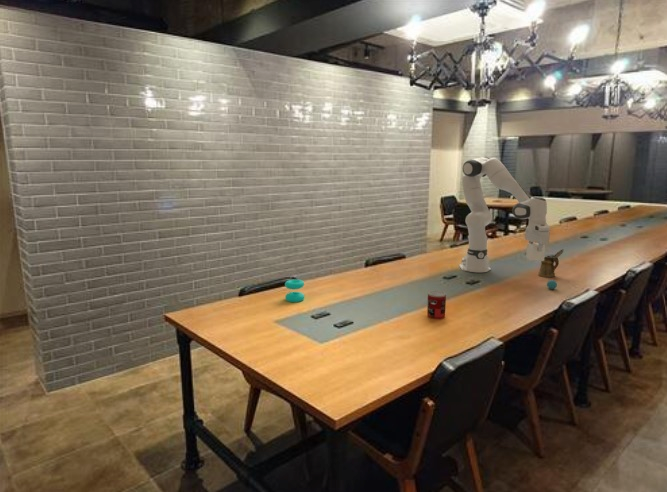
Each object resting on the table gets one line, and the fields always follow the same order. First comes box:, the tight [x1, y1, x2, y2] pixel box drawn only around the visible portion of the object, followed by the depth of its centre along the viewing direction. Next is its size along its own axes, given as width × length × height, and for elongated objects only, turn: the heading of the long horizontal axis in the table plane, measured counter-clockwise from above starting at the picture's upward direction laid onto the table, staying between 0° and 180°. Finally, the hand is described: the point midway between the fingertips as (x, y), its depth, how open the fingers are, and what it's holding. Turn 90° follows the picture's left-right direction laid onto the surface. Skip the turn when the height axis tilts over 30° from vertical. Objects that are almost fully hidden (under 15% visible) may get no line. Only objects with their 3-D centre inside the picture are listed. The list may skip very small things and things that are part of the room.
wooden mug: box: [537, 248, 564, 278], centre depth 267 cm, size 9×14×18 cm, turn 35°
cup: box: [525, 242, 546, 262], centre depth 251 cm, size 7×7×9 cm
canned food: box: [426, 290, 447, 320], centre depth 201 cm, size 8×8×11 cm
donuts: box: [284, 278, 306, 303], centre depth 228 cm, size 10×10×10 cm
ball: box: [546, 279, 558, 290], centre depth 242 cm, size 5×5×5 cm
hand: (535, 250), depth 250 cm, fingers closed on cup, 7 cm apart
